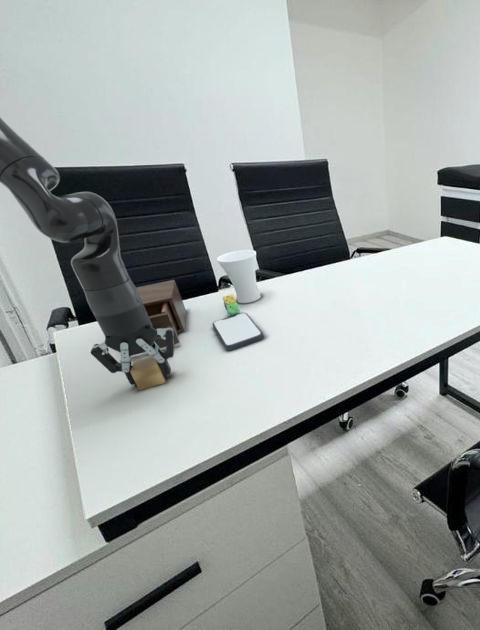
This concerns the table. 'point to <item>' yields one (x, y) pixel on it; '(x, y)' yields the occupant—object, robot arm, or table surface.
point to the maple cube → (146, 373)
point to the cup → (241, 273)
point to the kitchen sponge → (231, 305)
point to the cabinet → (165, 299)
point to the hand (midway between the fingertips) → (152, 379)
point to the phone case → (237, 331)
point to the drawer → (162, 320)
